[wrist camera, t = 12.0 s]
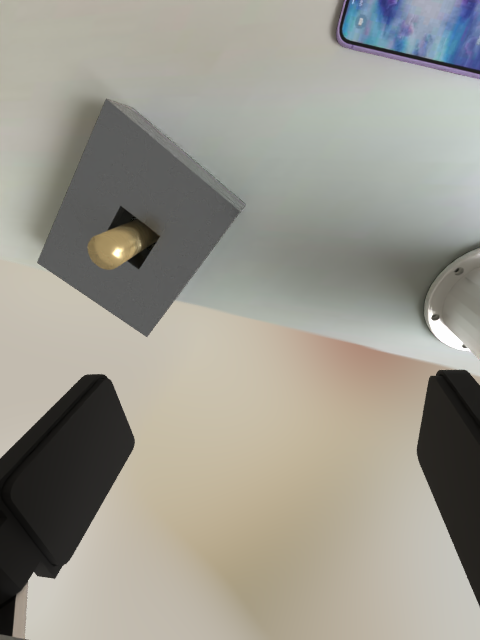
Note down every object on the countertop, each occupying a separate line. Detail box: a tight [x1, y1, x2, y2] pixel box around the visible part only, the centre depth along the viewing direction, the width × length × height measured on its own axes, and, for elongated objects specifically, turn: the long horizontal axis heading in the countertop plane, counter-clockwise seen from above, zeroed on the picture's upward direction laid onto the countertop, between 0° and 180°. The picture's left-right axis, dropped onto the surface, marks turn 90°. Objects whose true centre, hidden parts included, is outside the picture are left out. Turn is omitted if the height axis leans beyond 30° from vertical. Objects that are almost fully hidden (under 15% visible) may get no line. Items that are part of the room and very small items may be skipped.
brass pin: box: [88, 219, 160, 270], centre depth 30 cm, size 3×3×10 cm
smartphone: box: [336, 0, 480, 79], centre depth 23 cm, size 7×1×15 cm
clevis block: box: [37, 99, 246, 337], centre depth 32 cm, size 14×18×5 cm
